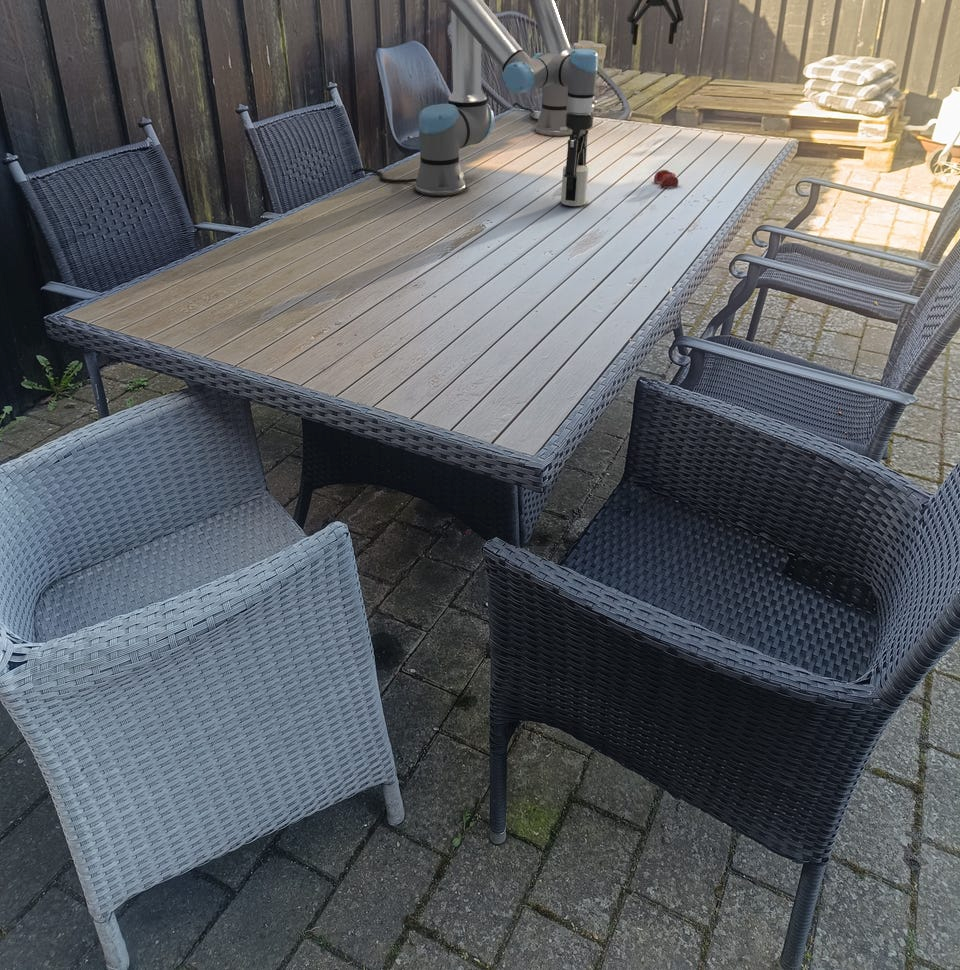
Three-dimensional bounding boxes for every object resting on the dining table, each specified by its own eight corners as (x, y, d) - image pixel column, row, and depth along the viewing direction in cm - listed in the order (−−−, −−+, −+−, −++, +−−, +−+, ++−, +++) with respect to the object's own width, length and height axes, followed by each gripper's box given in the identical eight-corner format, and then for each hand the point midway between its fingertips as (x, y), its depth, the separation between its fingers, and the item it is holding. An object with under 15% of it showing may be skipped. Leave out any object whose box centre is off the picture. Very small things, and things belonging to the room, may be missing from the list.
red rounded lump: (669, 166, 264) (680, 173, 258) (668, 179, 266) (679, 187, 260) (653, 168, 263) (663, 175, 257) (652, 181, 265) (662, 189, 259)
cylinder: (559, 204, 245) (561, 170, 239) (563, 197, 251) (565, 163, 245) (583, 207, 244) (586, 172, 238) (587, 199, 249) (590, 165, 244)
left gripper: (584, 121, 224) (577, 207, 237) (601, 105, 239) (594, 187, 253) (557, 119, 226) (552, 204, 239) (576, 103, 241) (570, 184, 255)
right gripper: (628, -24, 286) (622, 46, 298) (698, -25, 289) (689, 44, 301) (621, -26, 292) (615, 43, 304) (690, -27, 295) (681, 41, 307)
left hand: (573, 195), depth 246 cm, fingers closed on cylinder, 7 cm apart
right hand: (652, 44), depth 303 cm, fingers open, 13 cm apart
